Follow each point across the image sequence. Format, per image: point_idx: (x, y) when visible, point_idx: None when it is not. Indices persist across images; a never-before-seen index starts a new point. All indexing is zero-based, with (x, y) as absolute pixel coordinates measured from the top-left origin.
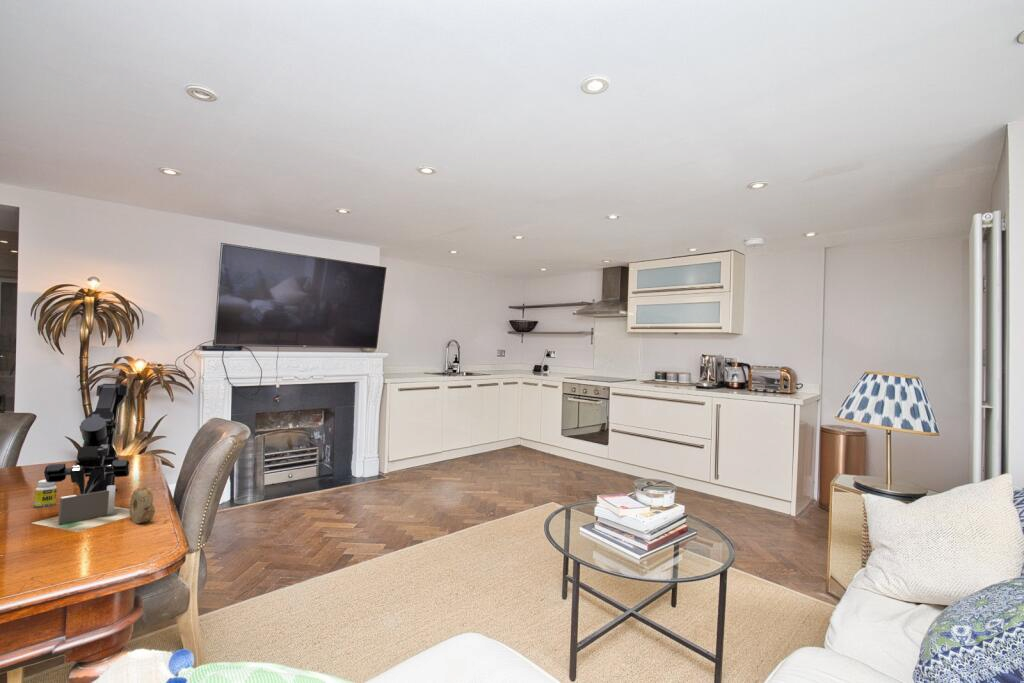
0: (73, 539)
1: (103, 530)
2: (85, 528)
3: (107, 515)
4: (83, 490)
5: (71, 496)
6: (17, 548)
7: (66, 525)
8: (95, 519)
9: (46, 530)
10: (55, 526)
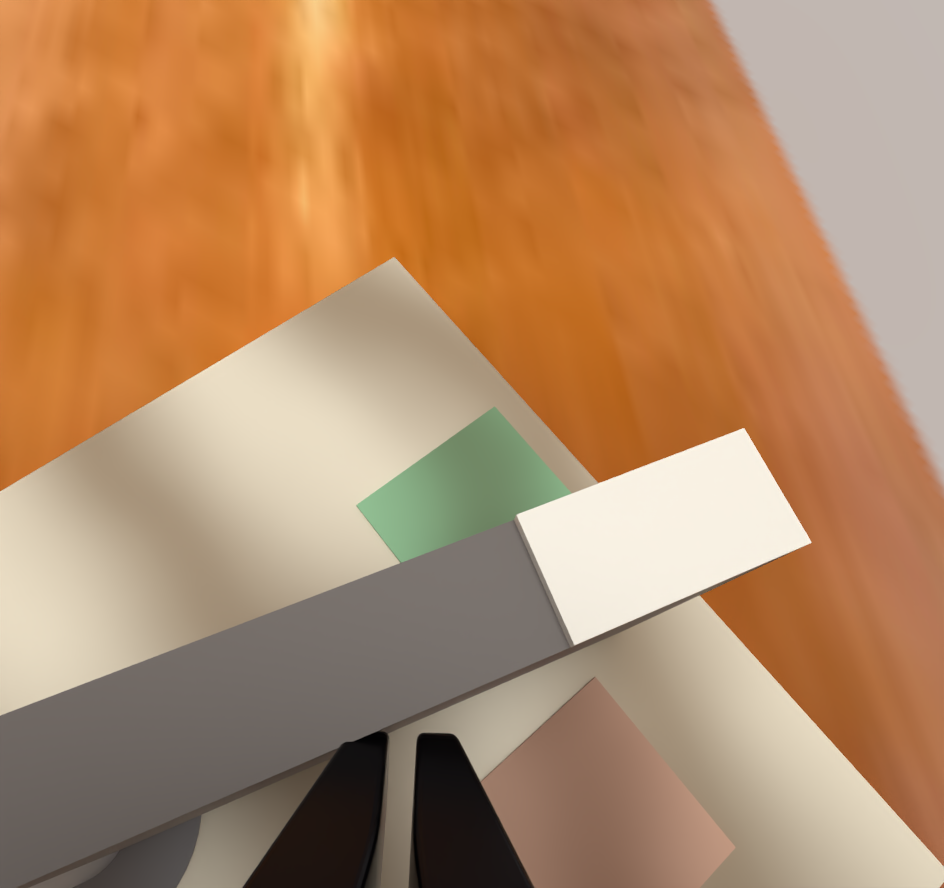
0: (407, 158)
1: (189, 270)
2: (336, 327)
3: None
4: (413, 826)
5: (605, 487)
6: (738, 155)
7: None
8: None
9: None
10: None
